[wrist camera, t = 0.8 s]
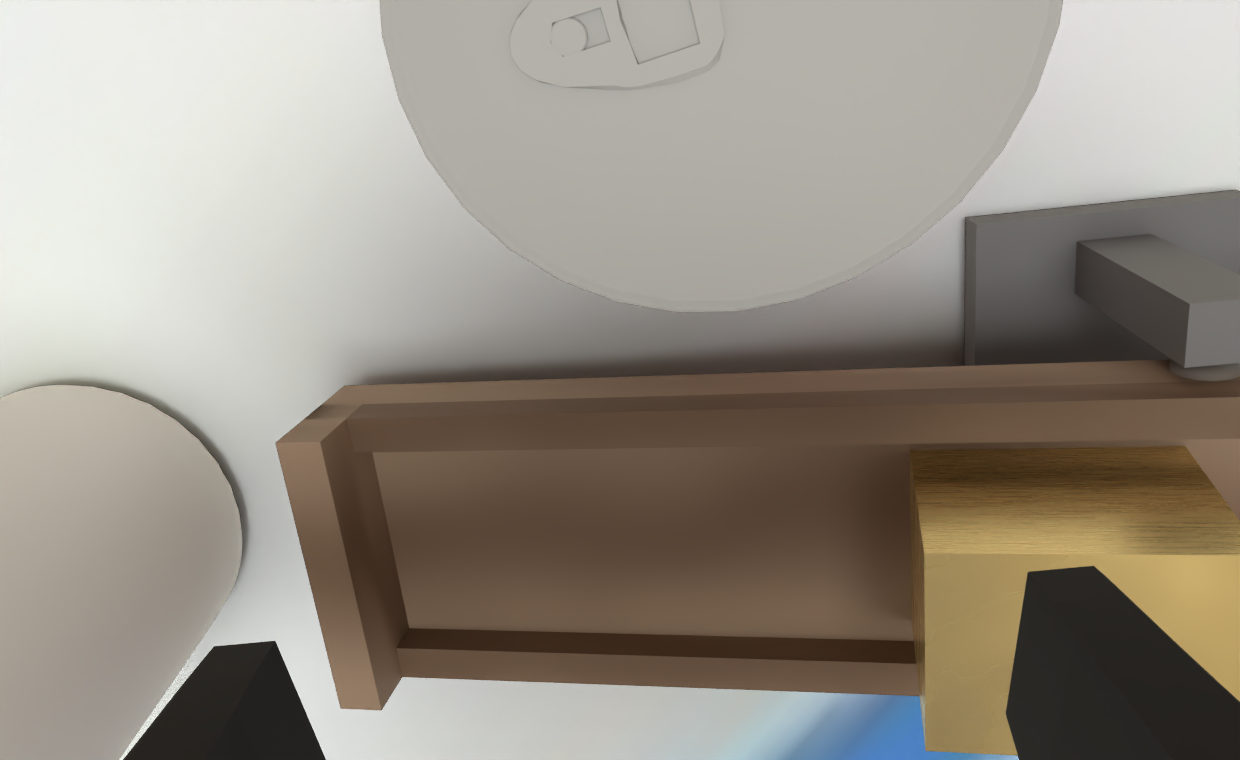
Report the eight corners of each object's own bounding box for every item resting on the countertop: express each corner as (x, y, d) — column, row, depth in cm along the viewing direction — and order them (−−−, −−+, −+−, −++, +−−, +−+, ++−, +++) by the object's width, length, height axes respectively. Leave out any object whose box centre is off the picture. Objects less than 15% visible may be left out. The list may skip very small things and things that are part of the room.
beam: (1992, 671, 19) (2201, 797, 16) (397, 629, 26) (341, 712, 23) (2141, 322, 17) (2415, 396, 14) (344, 381, 24) (274, 437, 21)
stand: (1194, 608, 27) (1334, 763, 21) (962, 627, 27) (1042, 784, 22) (1235, 189, 23) (1418, 249, 18) (965, 217, 23) (1063, 283, 18)
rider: (1169, 626, 21) (1238, 765, 17) (911, 620, 22) (925, 750, 18) (1185, 445, 19) (1264, 555, 16) (909, 449, 20) (923, 553, 17)
